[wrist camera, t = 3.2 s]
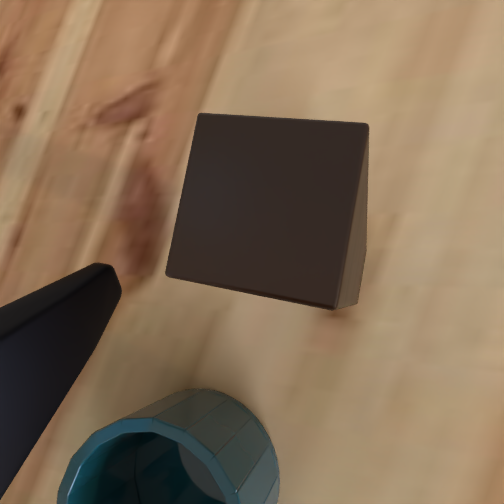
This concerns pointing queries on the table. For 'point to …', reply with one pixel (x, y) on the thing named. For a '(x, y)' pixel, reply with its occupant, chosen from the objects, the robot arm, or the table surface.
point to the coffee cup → (176, 456)
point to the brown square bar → (275, 209)
